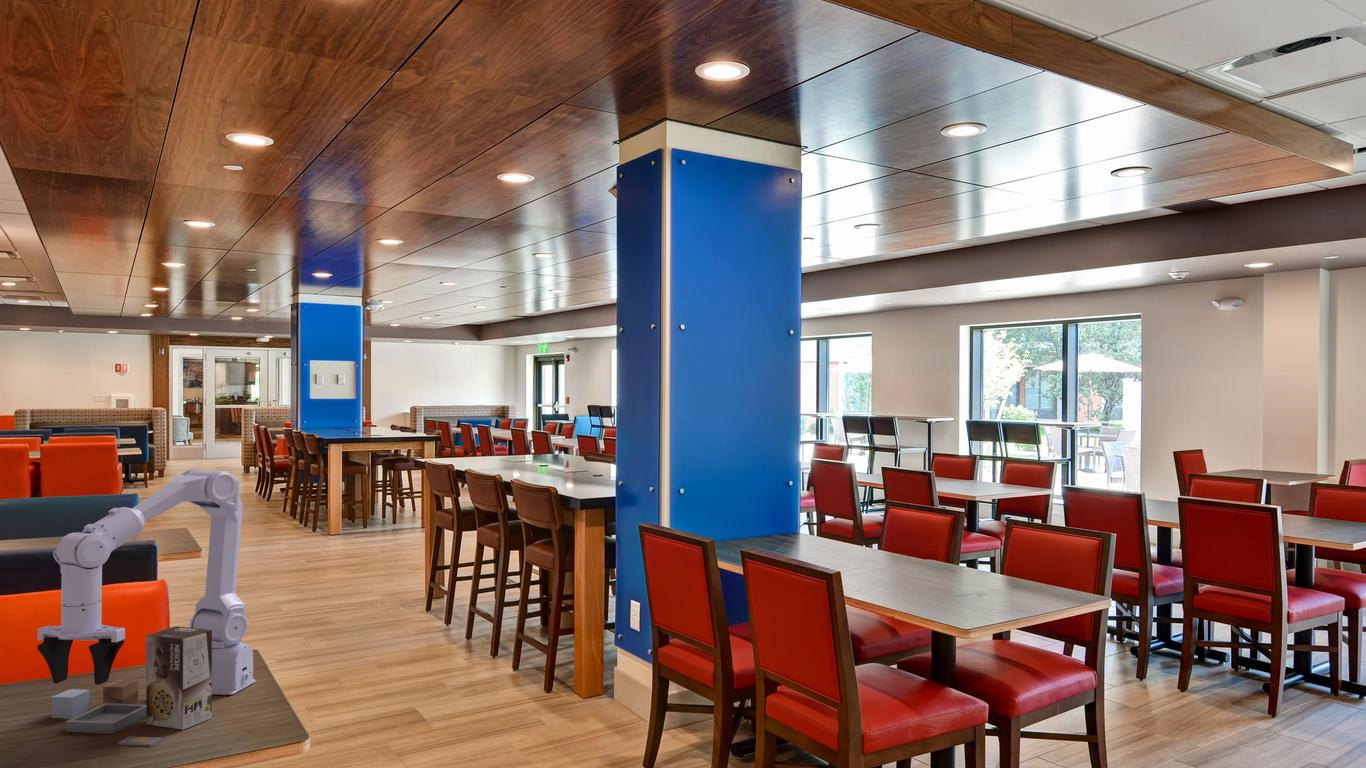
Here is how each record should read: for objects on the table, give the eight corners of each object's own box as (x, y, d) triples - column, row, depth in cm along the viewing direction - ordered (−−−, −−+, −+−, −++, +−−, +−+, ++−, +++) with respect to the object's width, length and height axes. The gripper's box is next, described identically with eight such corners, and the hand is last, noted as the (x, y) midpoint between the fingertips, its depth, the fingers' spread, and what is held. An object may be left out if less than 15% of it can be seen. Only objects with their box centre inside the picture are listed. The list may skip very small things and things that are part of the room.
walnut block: (138, 701, 164) (138, 680, 164) (122, 708, 160) (123, 687, 160) (118, 700, 164) (119, 679, 164) (102, 707, 160) (103, 686, 160)
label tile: (162, 740, 145) (162, 737, 145) (151, 746, 143) (151, 743, 143) (129, 738, 146) (129, 735, 146) (118, 744, 143) (118, 741, 143)
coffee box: (213, 718, 155) (214, 629, 155) (182, 731, 149) (183, 638, 149) (176, 711, 158) (176, 624, 158) (143, 724, 152) (144, 633, 152)
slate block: (89, 711, 159) (89, 689, 159) (72, 719, 155) (72, 697, 155) (69, 710, 159) (69, 689, 159) (51, 718, 155) (51, 696, 155)
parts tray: (150, 714, 157) (150, 704, 157) (112, 733, 148) (113, 723, 148) (104, 712, 158) (105, 703, 158) (65, 731, 149) (65, 721, 149)
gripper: (22, 607, 143) (21, 688, 143) (103, 609, 142) (102, 691, 142) (56, 597, 150) (56, 675, 150) (134, 599, 149) (133, 677, 149)
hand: (80, 682), depth 146 cm, fingers open, 7 cm apart
